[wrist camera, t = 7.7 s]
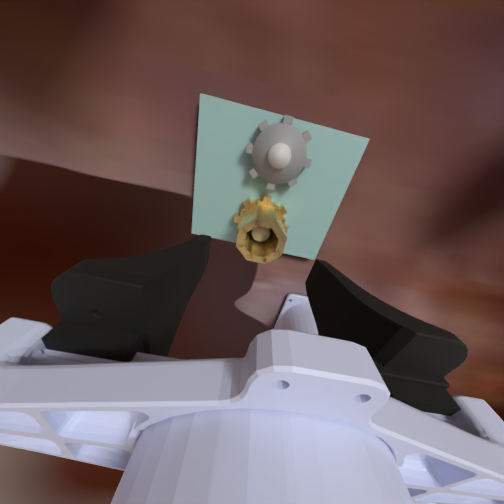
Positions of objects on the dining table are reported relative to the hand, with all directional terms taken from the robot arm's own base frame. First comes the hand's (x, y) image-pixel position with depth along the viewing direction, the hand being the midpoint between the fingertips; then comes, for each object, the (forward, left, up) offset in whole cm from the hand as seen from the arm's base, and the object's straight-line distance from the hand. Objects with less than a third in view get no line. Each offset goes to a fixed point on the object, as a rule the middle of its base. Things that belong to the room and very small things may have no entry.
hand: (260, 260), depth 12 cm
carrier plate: (+3, 0, -8) cm, 9 cm away
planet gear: (0, 0, -8) cm, 8 cm away
